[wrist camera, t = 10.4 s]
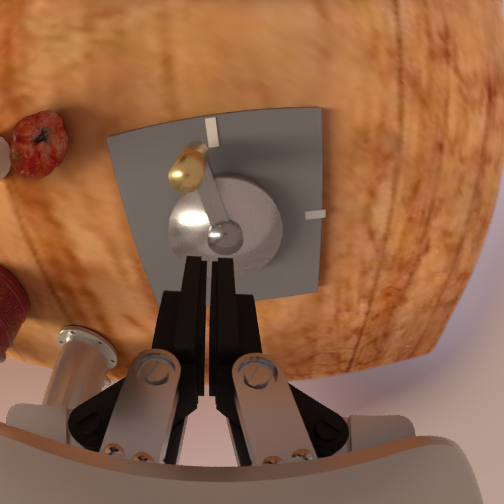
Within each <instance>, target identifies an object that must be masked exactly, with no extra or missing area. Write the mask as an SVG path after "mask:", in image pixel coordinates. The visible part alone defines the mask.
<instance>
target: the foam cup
mask: <svg viewBox="0 0 504 504" xmlns="http://www.w3.org/2000/svg"><path fill="white" fill-rule="evenodd" d="M9 155H10V148H9V145H8V143H7V142H6V141H5V139H4V138H3V137H0V181H1V180H2V179H3V178H4V177H5V176H6V175H7V174H8V172H9V169H10V166H11V162H10V157H9Z"/></svg>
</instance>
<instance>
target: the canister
mask: <svg viewBox="0 0 504 504" xmlns="http://www.w3.org/2000/svg"><path fill="white" fill-rule="evenodd" d="M29 308H30V306H29V300H28V298H27V295H26V293H25V291H24V289H23V288H22V286H21V285H20V283H19V282H18V281H17V280H16V278H15V277H14V276H13V275H12V274H11V273H9V272H8V271H7V270H6V269H4V268H3V267H1V266H0V363H1V362H4V361H5V359H6V351H7V349H8V348H10V347H11V346H12V345H13V341H14V339H15V337H16V335H17V333H18V331H19V329H20V327H21V325H22V324H23V323H24V322H25V320H26V318H27V316H28V312H29Z"/></svg>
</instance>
